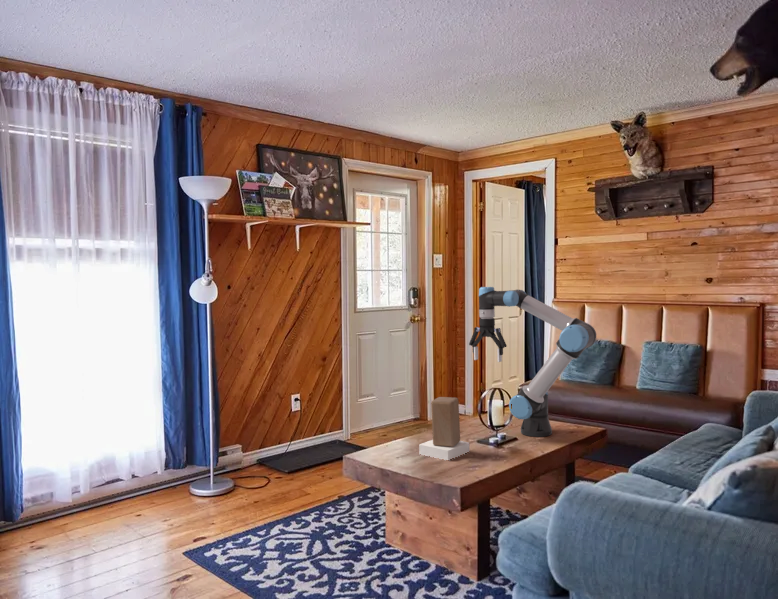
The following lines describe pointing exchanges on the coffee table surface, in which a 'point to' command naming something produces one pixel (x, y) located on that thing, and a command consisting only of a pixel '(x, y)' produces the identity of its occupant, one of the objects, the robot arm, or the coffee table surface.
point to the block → (445, 421)
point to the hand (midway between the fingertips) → (487, 360)
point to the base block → (443, 450)
